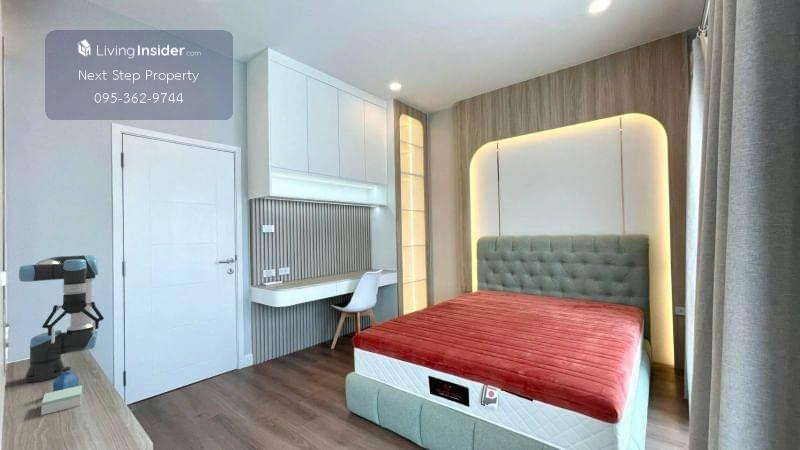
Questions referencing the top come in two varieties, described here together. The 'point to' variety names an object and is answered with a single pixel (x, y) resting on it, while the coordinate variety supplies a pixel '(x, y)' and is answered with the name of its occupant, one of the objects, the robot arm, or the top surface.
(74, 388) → the mint green square block
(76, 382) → the perfume bottle
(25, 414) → the top surface
